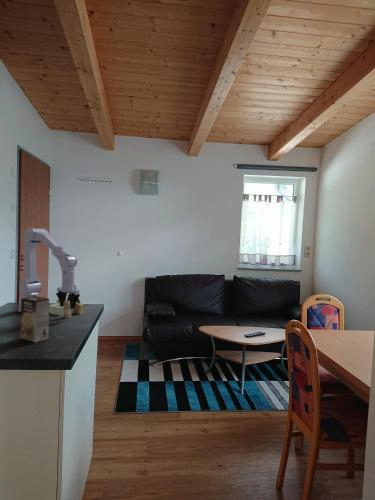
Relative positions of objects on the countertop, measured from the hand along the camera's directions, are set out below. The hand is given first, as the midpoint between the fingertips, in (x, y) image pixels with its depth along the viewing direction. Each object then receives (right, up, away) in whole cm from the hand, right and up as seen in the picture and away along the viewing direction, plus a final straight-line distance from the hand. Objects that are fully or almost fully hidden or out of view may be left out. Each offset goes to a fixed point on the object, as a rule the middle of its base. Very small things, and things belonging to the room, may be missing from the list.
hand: (67, 307), depth 158 cm
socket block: (-7, -4, +9) cm, 12 cm away
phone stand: (-7, -4, +26) cm, 27 cm away
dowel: (0, -5, 0) cm, 5 cm away
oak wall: (-4, -4, +13) cm, 14 cm away
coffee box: (-1, -7, -32) cm, 33 cm away
